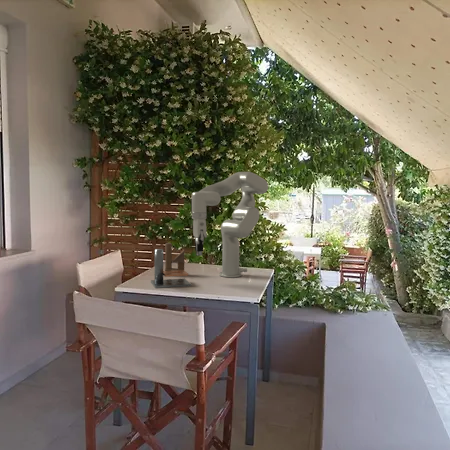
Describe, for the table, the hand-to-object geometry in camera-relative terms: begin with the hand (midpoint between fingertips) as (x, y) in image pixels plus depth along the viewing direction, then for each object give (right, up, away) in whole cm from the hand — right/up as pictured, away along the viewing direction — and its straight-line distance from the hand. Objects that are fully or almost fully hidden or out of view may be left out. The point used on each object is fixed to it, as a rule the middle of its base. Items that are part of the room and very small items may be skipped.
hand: (199, 250), depth 230 cm
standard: (-14, -17, -5) cm, 23 cm away
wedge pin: (0, -2, 0) cm, 2 cm away
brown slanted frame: (-15, -15, +19) cm, 29 cm away
